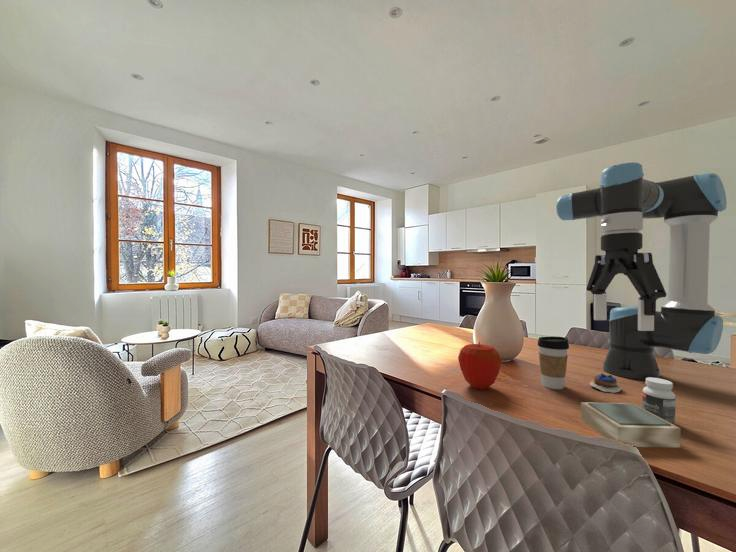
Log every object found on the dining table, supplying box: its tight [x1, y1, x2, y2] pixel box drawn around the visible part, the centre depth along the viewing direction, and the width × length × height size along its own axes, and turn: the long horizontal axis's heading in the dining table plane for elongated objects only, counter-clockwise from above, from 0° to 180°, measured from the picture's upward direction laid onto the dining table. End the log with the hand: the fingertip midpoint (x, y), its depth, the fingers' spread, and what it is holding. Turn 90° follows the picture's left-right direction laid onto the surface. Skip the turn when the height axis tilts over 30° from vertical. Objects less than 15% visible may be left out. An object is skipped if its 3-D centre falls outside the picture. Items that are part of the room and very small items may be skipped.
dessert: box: [589, 372, 622, 394], centre depth 94 cm, size 8×7×6 cm
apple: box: [457, 341, 502, 391], centre depth 96 cm, size 12×12×14 cm
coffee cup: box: [537, 336, 570, 390], centre depth 97 cm, size 8×8×15 cm
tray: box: [580, 401, 682, 449], centre depth 69 cm, size 12×12×4 cm
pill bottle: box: [641, 377, 676, 426], centre depth 73 cm, size 6×6×10 cm
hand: (620, 324), depth 73 cm, fingers open, 13 cm apart
